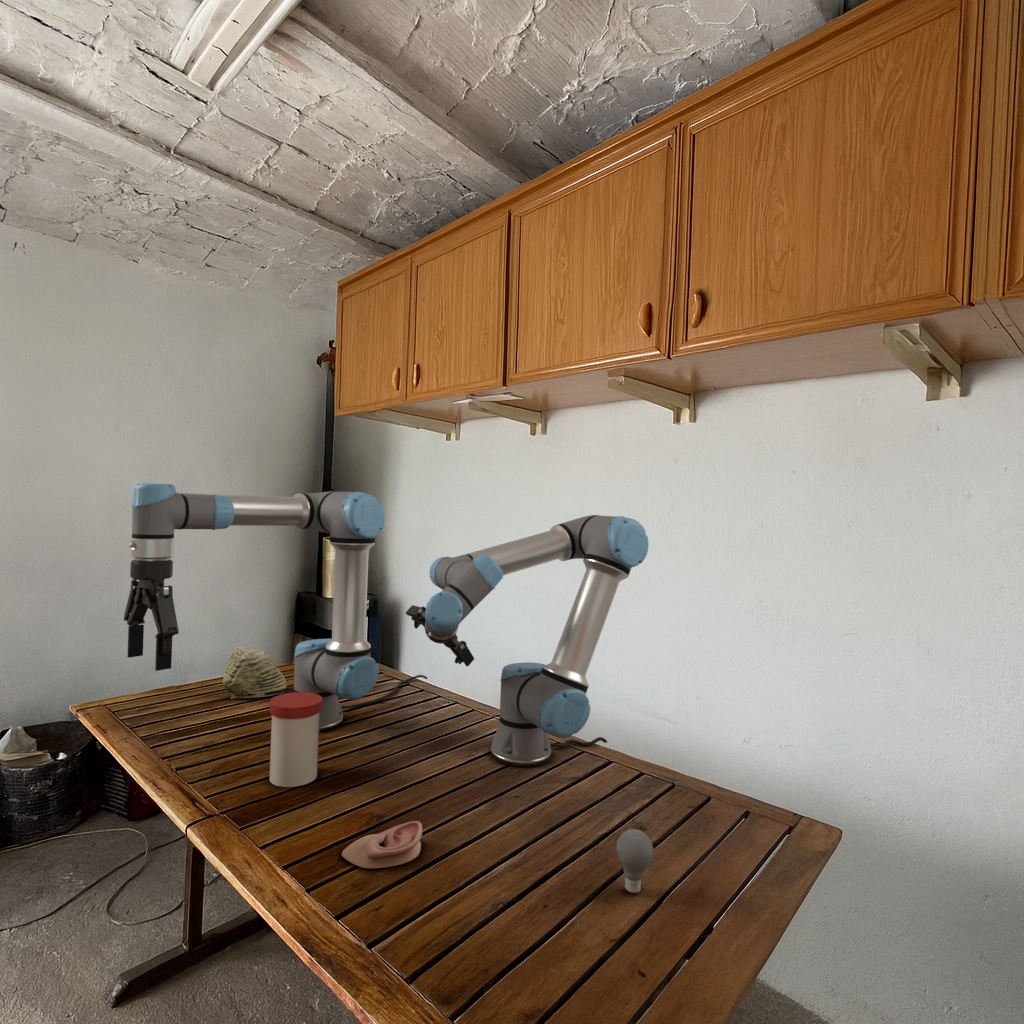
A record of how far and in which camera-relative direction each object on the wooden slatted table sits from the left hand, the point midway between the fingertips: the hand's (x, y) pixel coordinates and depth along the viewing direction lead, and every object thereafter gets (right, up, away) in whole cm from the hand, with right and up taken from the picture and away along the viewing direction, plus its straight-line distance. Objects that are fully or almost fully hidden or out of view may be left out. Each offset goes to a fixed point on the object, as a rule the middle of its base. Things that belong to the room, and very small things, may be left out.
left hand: (148, 662), depth 129 cm
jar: (+25, -29, +13) cm, 40 cm away
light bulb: (+94, -33, -24) cm, 103 cm away
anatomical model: (+51, -31, -15) cm, 61 cm away
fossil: (-6, -27, +69) cm, 74 cm away
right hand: (+55, -2, +33) cm, 64 cm away
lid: (+26, -12, +13) cm, 31 cm away
